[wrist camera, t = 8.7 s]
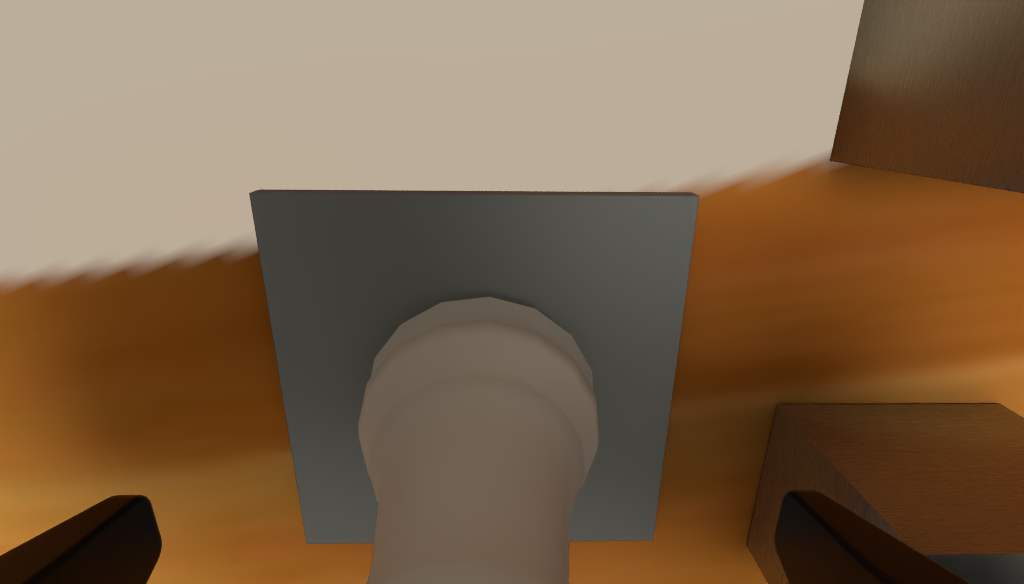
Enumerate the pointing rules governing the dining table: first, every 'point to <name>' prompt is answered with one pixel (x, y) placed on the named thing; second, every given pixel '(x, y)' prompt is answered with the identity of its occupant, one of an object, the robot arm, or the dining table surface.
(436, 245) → the mat
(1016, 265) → the dining table surface
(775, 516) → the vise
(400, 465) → the rook chess piece
